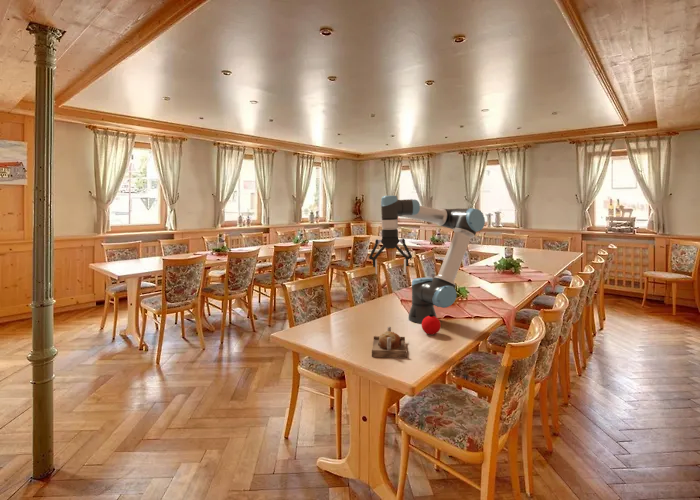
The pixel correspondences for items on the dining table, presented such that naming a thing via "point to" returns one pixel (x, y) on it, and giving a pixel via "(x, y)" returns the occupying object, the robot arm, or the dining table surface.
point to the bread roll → (394, 340)
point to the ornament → (431, 324)
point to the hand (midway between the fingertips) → (390, 273)
